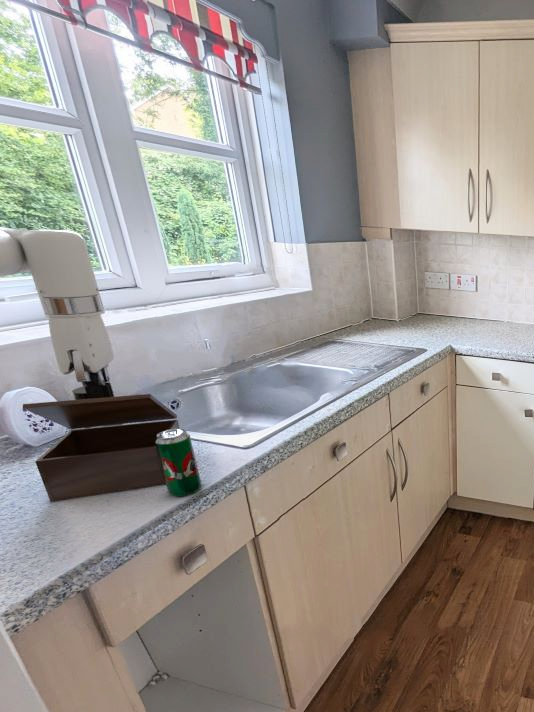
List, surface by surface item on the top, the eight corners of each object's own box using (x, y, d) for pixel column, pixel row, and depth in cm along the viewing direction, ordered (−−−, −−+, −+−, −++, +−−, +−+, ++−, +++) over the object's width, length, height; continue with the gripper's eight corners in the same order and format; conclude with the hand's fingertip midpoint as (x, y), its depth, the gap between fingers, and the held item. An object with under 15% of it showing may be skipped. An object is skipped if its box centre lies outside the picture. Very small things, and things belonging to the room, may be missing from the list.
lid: (150, 397, 83) (150, 393, 83) (22, 408, 76) (22, 404, 76) (177, 418, 96) (176, 415, 97) (70, 429, 89) (70, 425, 90)
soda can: (200, 481, 89) (187, 425, 85) (203, 492, 85) (189, 434, 81) (168, 489, 86) (152, 431, 82) (169, 501, 82) (153, 441, 78)
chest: (169, 484, 87) (159, 446, 85) (50, 501, 80) (34, 461, 78) (185, 452, 99) (177, 418, 97) (83, 465, 92) (71, 429, 90)
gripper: (63, 300, 83) (92, 394, 89) (21, 313, 70) (58, 422, 77) (116, 299, 86) (140, 390, 92) (84, 312, 73) (115, 416, 80)
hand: (103, 404), depth 85 cm, fingers closed
